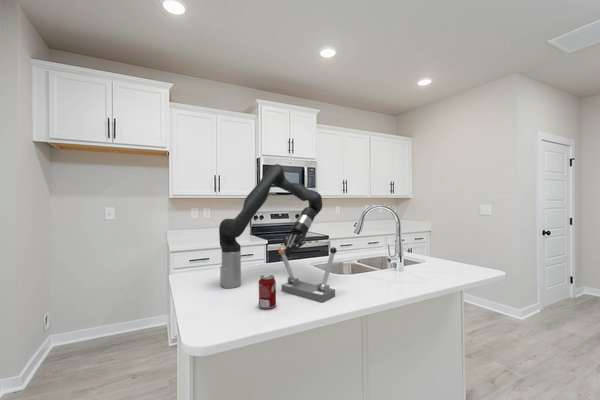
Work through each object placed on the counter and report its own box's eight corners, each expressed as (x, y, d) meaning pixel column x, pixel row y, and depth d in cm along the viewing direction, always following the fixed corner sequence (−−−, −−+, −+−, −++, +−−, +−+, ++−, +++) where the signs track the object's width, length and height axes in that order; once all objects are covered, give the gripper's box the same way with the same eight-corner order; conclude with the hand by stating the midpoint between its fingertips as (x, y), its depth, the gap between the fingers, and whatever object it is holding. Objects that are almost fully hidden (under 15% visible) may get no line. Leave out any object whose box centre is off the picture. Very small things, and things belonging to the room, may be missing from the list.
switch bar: (295, 286, 138) (295, 274, 138) (335, 296, 124) (335, 283, 124) (281, 291, 131) (281, 279, 130) (322, 302, 116) (322, 288, 116)
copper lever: (293, 279, 135) (280, 245, 128) (298, 280, 133) (285, 246, 126) (289, 284, 133) (276, 249, 126) (294, 285, 131) (281, 250, 124)
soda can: (268, 311, 108) (268, 279, 108) (255, 307, 111) (255, 277, 111) (279, 305, 113) (279, 275, 113) (266, 302, 117) (265, 273, 117)
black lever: (321, 290, 123) (333, 248, 131) (326, 291, 121) (338, 249, 129) (317, 288, 121) (329, 245, 129) (323, 289, 119) (335, 246, 127)
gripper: (316, 231, 135) (300, 262, 126) (295, 230, 144) (279, 258, 134) (309, 221, 131) (292, 252, 122) (288, 220, 139) (271, 249, 130)
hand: (285, 255), depth 128 cm, fingers closed
